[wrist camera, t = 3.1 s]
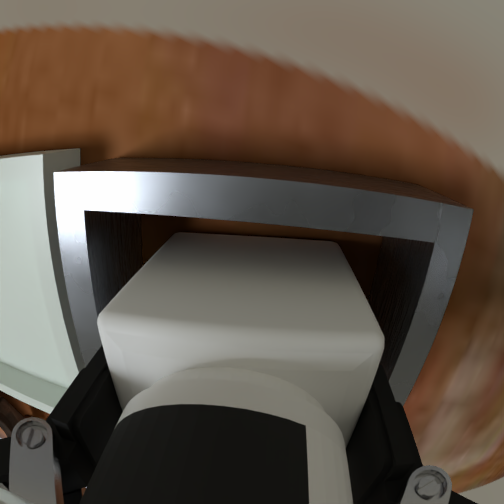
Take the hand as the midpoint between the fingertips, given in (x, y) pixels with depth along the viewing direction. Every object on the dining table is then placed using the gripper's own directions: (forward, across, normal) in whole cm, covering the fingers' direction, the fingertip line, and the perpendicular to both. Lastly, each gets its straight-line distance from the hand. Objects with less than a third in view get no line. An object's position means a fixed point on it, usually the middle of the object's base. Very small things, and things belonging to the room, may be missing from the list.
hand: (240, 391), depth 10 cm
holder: (+5, 0, 0) cm, 5 cm away
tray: (+5, +16, +1) cm, 16 cm away
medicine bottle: (+6, 0, 0) cm, 6 cm away
